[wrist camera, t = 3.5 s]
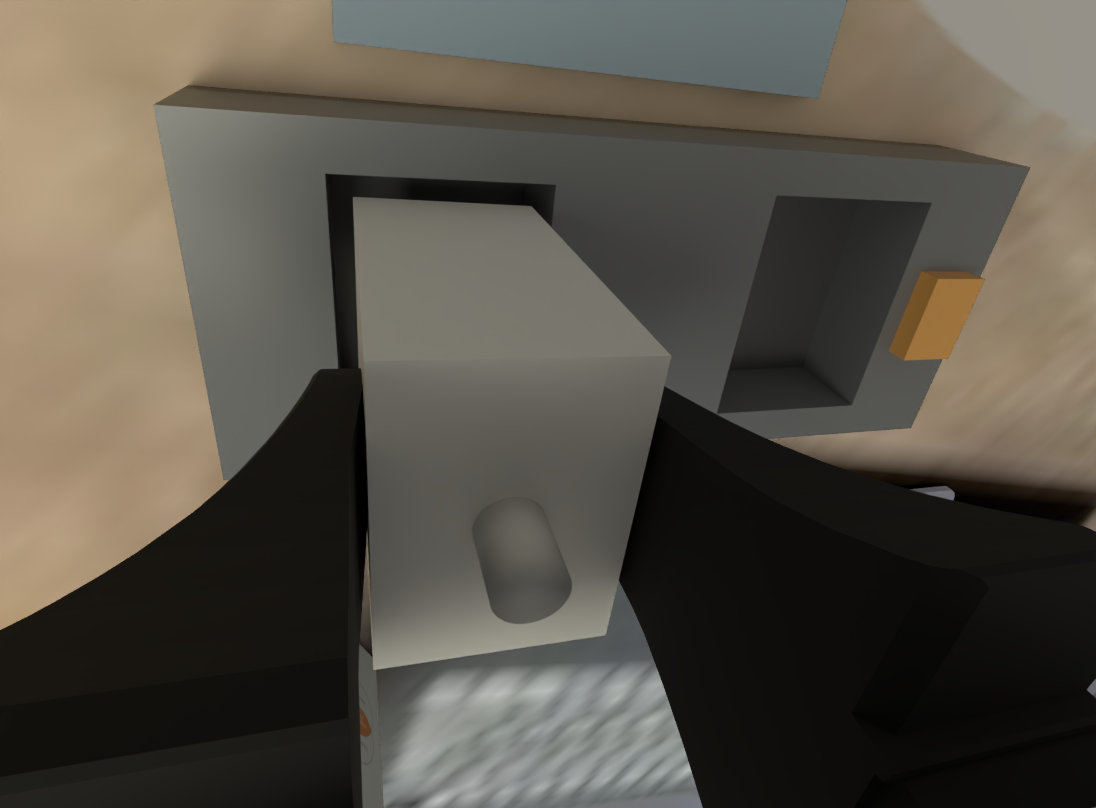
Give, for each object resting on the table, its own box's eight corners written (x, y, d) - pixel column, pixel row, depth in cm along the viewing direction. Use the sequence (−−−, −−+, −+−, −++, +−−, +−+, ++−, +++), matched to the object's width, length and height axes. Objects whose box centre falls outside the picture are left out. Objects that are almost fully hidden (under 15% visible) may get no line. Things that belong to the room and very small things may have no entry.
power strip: (928, 142, 19) (1051, 172, 16) (841, 376, 24) (924, 438, 20) (191, 83, 14) (145, 109, 10) (241, 403, 18) (219, 496, 15)
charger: (531, 206, 14) (718, 406, 7) (510, 409, 16) (633, 701, 9) (352, 196, 13) (369, 421, 6) (360, 415, 15) (376, 748, 8)
